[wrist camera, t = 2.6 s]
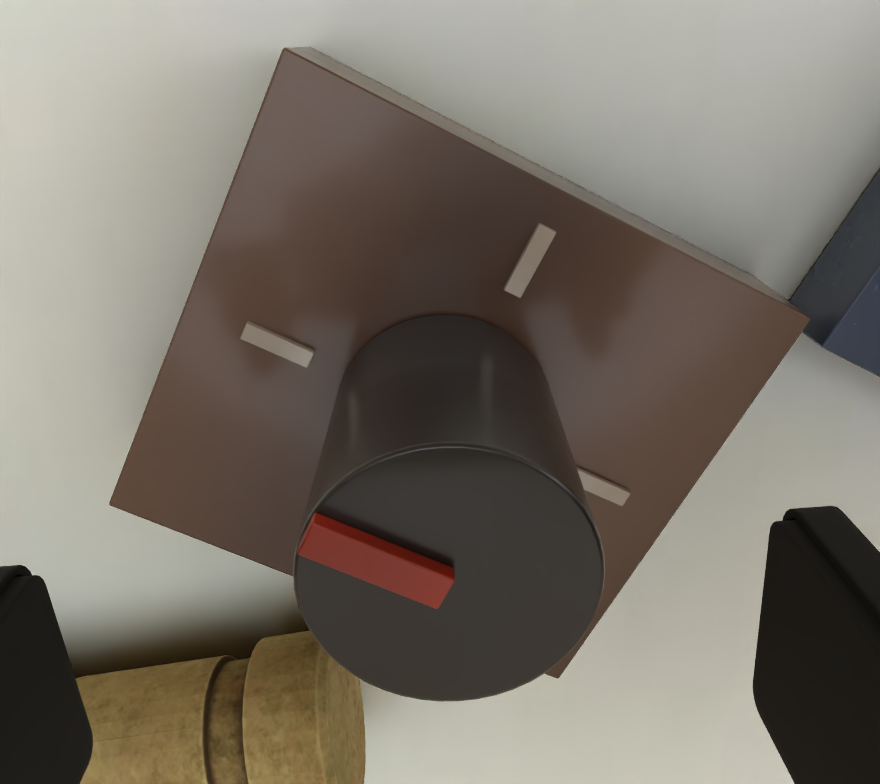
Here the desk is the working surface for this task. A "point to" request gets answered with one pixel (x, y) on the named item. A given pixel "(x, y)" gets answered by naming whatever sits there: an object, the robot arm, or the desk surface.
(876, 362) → the button box
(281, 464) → the panel
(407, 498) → the knob
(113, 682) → the gavel
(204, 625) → the desk surface
